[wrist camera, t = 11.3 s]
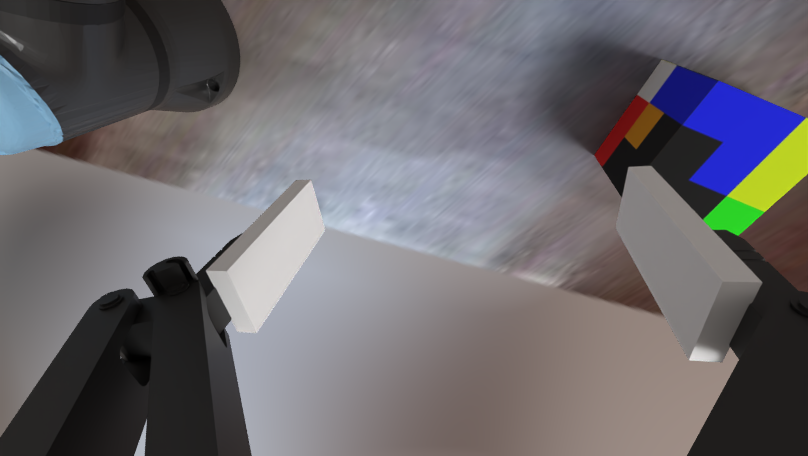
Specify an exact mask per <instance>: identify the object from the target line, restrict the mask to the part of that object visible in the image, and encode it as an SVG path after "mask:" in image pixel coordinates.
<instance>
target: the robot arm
mask: <svg viewBox="0 0 808 456" xmlns="http://www.w3.org/2000/svg"><path fill="white" fill-rule="evenodd" d="M239 68H240V51H239V44H238V39H237V35H236V32H235V29H234V26H233V23H232V21H231V19H230V16H229V14H228V12H227V10H226V8H225V7H224V5H223V3H222V2H221V0H0V155H9V154H16V153H19V152H23V151H27V150H31V149H34V148H38V147H42V146H52V145H57V144H59V143H61V142H63V141H66V140H68V139H71V138H74V137H77V136H79V135H82V134H85V133H88V132H90V131H93V130H96V129H99V128H101V127H104V126H107V125H110V124H112V123H115V122H118V121H121V120H123V119H126V118H129V117H132V116H134V115H137V114H140V113H142V112H145V111H148V110H161V111H175V112H196V111H201V110H204V109H207V108H209V107H212V106H214V105H217V104H219V103H220V102H222V101H223V100H224V99H226V98H227V97H228V96H229V94H230V93H231V92H232V90H233V88H234V86H235V84H236V82H237V78H238V74H239ZM616 230H617V232H618V233H619V235H620V237H621V239H622V241H623V242H624V244H625V246H626V248H627V250H628V251H629V253H630V255H631V257H632V259H633V260H634V262H635V264H636V266H637V268H638V269H639V271H640V273H641V275H642V277H643V278H644V280H645V282H646V284H647V286H648V287H649V289H650V291H651V293H652V295H653V297H654V298H655V300H656V302H657V304H658V306H659V307H660V309H661V311H662V313H663V315H664V316H665V318H666V320H667V322H668V323H669V325H670V327H671V329H672V331H673V333H674V334H675V336H676V338H677V340H678V342H679V343H680V345H681V347H682V348H683V351H684V352H685V354H686V356H687V358H688V360H693V361H709V362H722V361H723V359H724V358H725V356H726V354H727V351H728V350H729V348H730V347H731V348H732V350H733V351H734V353H735V354H736V356H737V357H738V358H739V361H738V363H737V365H736V367H735V369H734V370H733V372H732V374H731V376H730V378H729V379H728V381H727V383H726V385H725V387H724V389H723V391H722V392H721V394H720V396H719V398H718V400H717V402H716V403H715V405H714V407H713V409H712V411H711V413H710V414H709V416H708V418H707V420H706V422H705V424H704V425H703V427H702V429H701V431H700V433H699V435H698V436H697V438H696V440H695V442H694V444H693V446H692V447H691V449H690V451H689V453H688V455H687V456H808V293H807V292H803V291H798V290H797V289H796V288H795V287H794V286H793V285H792V284H791V283H789V282H788V281H787V280H786V279H785V278H784V277H783V276H782V275H781V274H780V273H779V272H778V271H777V270H776V269H775V268H774V267H773V266H772V265H771V264H770V263H769V262H765V259H764V258H763V257H762V256H761V255H760V254H759V253H758V252H756V250H755V249H754V248H753V247H752V246H751V245H750V244H749V243H748V242H747V241H745V240H744V239H743V238H741V237H739V236H737V235H735V234H733V233H731V232H730V231H728V230H712V229H711V228H710V227H709V226H708V225H707V224H706V223H705V222H704V221H703V220H702V219H701V218H700V216H699V215H698V214H697V213H696V212H695V211H694V210H693V209H692V208H691V207H690V206H689V205H688V204H687V203H686V202H685V201H684V200H683V199H682V198H681V197H680V196H679V195H678V193H677V192H676V191H675V190H674V189H673V188H672V187H671V186H670V185H669V184H668V183H667V182H666V181H665V180H664V179H663V178H662V177H661V176H660V175H659V174H658V173H657V172H656V170H655V169H654V168H653V167H652V166H638V167H628V172H627V176H626V181H625V186H624V191H623V195H622V200H621V205H620V210H619V214H618V219H617V224H616ZM324 231H325V227H324V224H323V220H322V217H321V213H320V209H319V206H318V202H317V199H316V195H315V192H314V188H313V185H312V181H311V180H296V181H295V182H294V183H293V184H292V185H291V186H290V187H289V188H288V189H287V190H286V191H285V192H284V193H283V194H282V195H281V196H280V197H279V198H278V199H277V200H276V201H275V202H274V203H273V204H272V205H271V206H270V207H269V208H268V209H267V210H266V211H265V212H264V213H263V214H262V215H261V216H260V217H259V218H258V219H257V220H256V221H255V222H254V223H253V224H252V225H251V226H250V227H249V228H248V229H247V230H246V231H245V232H244V233H242V234H240V235H239V236H237V237H235V238H234V239H232V240H231V241H229V243H227V244H226V245H225V246H224V247H223V249H222V250H220V251H219V252H218V253H217V254H216V255H215V257H213V258H212V259H211V260H210V261H209V262H208V263H207V264H206V265H205V266H204V267H203V268H202V269H201V270H200V271H199V272H198V273H197V274H195V272H194V271H193V269H192V267H191V265H190V264H189V261H188V260H187V258H185V257H172V258H169V259H165V260H163V261H161V262H159V263H156V264H155V265H153V266H152V267H150V268H149V269H148V270H147V271H146V272H145V273H144V275H143V279H144V281H145V282H146V284H147V285H148V287H149V288H150V290H151V291H152V293H153V295H154V297H149V298H143V299H138V297H137V295H136V294H135V292H134V291H133V290H132V289H121V290H117V291H114V292H110V293H108V294H107V295H106V294H105V295H104V296H102V297H101V298H100V299H98V300H97V301H96V302H94V303H93V304H92V305H91V306H90V307H89V309H88V310H87V312H86V313H85V314H84V316H83V317H82V319H81V320H80V322H79V323H78V325H77V326H76V328H75V329H74V331H73V332H72V333H71V335H70V336H69V338H68V339H67V341H66V342H65V344H64V345H63V347H62V348H61V350H60V351H59V353H58V354H57V355H56V357H55V358H54V360H53V361H52V363H51V364H50V366H49V367H48V369H47V370H46V371H45V373H44V375H43V376H42V377H41V379H40V380H39V382H38V383H37V385H36V386H35V388H34V389H33V390H32V392H31V393H30V395H29V396H28V398H27V399H26V401H25V402H24V404H23V405H22V407H21V408H20V410H19V411H18V413H17V414H16V415H15V417H14V418H13V420H12V421H11V423H10V424H9V426H8V427H7V429H6V430H5V432H4V433H3V434H2V436H1V437H0V456H134V454H135V451H136V448H137V445H138V442H139V440H140V437H141V434H142V431H143V428H144V425H145V422H146V419H147V429H146V444H145V445H146V446H145V456H252V455H251V450H250V445H249V440H248V434H247V429H246V424H245V419H244V414H243V408H242V403H241V398H240V393H239V387H238V382H237V377H236V372H235V366H234V361H233V355H232V350H231V345H230V339H229V335H228V333H227V331H226V329H225V327H226V326H227V324H228V323H229V322H230V321H231V320H232V322H233V324H234V326H235V328H236V330H237V331H238V332H248V333H257V332H258V330H259V329H260V327H261V326H262V324H263V323H264V321H265V320H266V318H267V317H268V315H269V314H270V312H271V311H272V309H273V308H274V306H275V305H276V303H277V302H278V300H279V299H280V297H281V296H282V294H283V293H284V291H285V290H286V288H287V287H288V285H289V284H290V282H291V281H292V279H293V278H294V276H295V275H296V273H297V272H298V270H299V269H300V267H301V266H302V264H303V263H304V261H305V260H306V258H307V257H308V255H309V254H310V252H311V251H312V249H313V248H314V246H315V245H316V243H317V242H318V240H319V239H320V237H321V236H322V234H323V233H324ZM120 356H121V357H122V358H120Z"/></svg>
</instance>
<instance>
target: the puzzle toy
mask: <svg viewBox="0 0 808 456" xmlns="http://www.w3.org/2000/svg"><path fill="white" fill-rule="evenodd" d="M594 156H595V157H596V159H597V160H598V162H599V163H600V165H601V166H602V168H603V170H604V171H605V173H606V174H607V176H608V177H609V179H610V180H611V182H612V183H613V185H614V186H615V188H616V189H617V191H618V192H619V194H620V196H621V197H622V195H623V191H624V186H625V181H626V176H627V172H628V167H638V166H652V167H653V168H654V169H655V170H656V172H657V173H658V174H659V175H660V176H661V177H662V178H663V179H664V180H665V181H666V182H667V183H668V184H669V185H670V186H671V187H672V188H673V189H674V190H675V191H676V192H677V193H678V195H679V196H680V197H681V198H682V199H683V200H684V201H685V202H686V203H687V204H688V205H689V206H690V207H691V208H692V209H693V210H694V211H695V212H696V213H697V214H698V215H699V216H700V218H701V219H702V220H703V221H704V222H705V223H706V224H707V225H708V226H709V227H710V228H711V229H712V230H728V231H730V232H731V233H733V234H735V235H737V236H738V235H739V234H741V233H742V232H743V231H744V230H745V229H746V228H747V227H748V226H749V225H751V224H752V223H753V222H754V221H755V220H756V219H757V218H758V217H760V216H761V215H762V214H763V213H764V212H765V211H766V210H767V209H769V208H770V207H771V206H772V205H773V204H774V203H775V202H776V201H778V200H779V199H780V198H781V197H782V196H783V195H784V194H785V193H786V192H788V191H789V190H790V189H791V188H792V187H793V186H794V185H795V184H797V183H798V182H799V181H800V180H801V179H802V178H803V177H804V176H806V175H807V174H808V118H805V117H803V116H801V115H798V114H796V113H794V112H791V111H789V110H787V109H784V108H782V107H780V106H777V105H775V104H773V103H770V102H768V101H766V100H763V99H761V98H758V97H756V96H754V95H751V94H749V93H747V92H744V91H742V90H740V89H737V88H735V87H733V86H730V85H728V84H726V83H723V82H721V81H719V80H716V79H713V78H710V77H708V76H705V75H702V74H700V73H697V72H694V71H692V70H689V69H686V68H684V67H681V66H678V65H676V64H673V63H670V62H668V61H665V60H661V61H660V63H659V64H658V66H657V67H656V68H655V70H654V71H653V73H652V74H651V76H650V77H649V78H648V80H647V81H646V83H645V84H644V85H643V87H642V88H641V90H640V91H639V92H638V94H637V95H636V97H635V98H634V100H633V101H632V102H631V104H630V105H629V107H628V108H627V109H626V111H625V112H624V114H623V115H622V117H621V118H620V119H619V121H618V122H617V124H616V125H615V126H614V128H613V129H612V131H611V132H610V134H609V135H608V136H607V138H606V139H605V141H604V142H603V143H602V145H601V146H600V148H599V149H598V150H597V152H596V153H595V155H594Z"/></svg>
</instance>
